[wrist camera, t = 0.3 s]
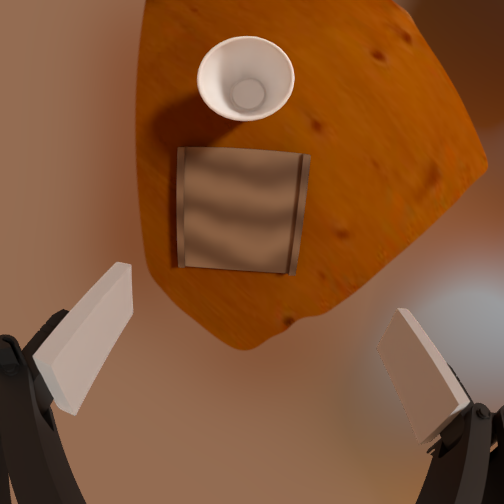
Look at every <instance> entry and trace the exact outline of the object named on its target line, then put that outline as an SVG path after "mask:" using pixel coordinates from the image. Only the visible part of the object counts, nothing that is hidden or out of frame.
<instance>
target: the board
mask: <svg viewBox="0 0 504 504" xmlns="http://www.w3.org/2000/svg"><path fill="white" fill-rule="evenodd" d="M310 157H311V155H308V154H300V153H291V152H281V151H270V150H258V149H243V148H222V147H178V150H177V253H178V267H181V268H184V267H185V266H190V267H203V268H216V269H230V270H244V271H258V272H273V273H288V274H289V275H293V276H295V275H296V268H297V261H298V255H299V248H300V241H301V234H302V226H303V218H304V211H305V202H306V194H307V185H308V176H309V167H310Z"/></svg>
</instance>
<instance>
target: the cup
mask: <svg viewBox="0 0 504 504" xmlns="http://www.w3.org/2000/svg"><path fill="white" fill-rule="evenodd" d="M197 86H198V90H199V93H200V95H201V97H202V99H203V101H204V102H205V103H206V104H207V106H208V107H209V108H210V109H212V110H213V111H214V112H215V113H217V114H219V115H221V116H223V117H225V118H228V119H231V120H236V121H254V120H258V119H262V118H265V117H267V116H269V115H272V114H273V113H275V112H276V111H277V110H279V109H280V108H281V107H282V106H283V105H284V104H285V103H286V101H287V100H288V98H289V97H290V95H291V92H292V90H293V86H294V70H293V67H292V64H291V62H290V60H289V58H288V56H287V55H286V54H285V53H284V52H283V51H282V49H281V48H279V47H278V46H276V45H275V44H274V43H272V42H270V41H267V40H265V39H262V38H258V37H251V36H242V37H235V38H231V39H228V40H225V41H223V42H221V43H219V44H218V45H216V46H215V47H213V48H212V49H211V50H210V51H209V52H208V53H207V54H206V55H205V57H204V58H203V60H202V61H201V64H200V66H199V69H198V74H197Z"/></svg>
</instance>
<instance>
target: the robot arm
mask: <svg viewBox="0 0 504 504" xmlns="http://www.w3.org/2000/svg"><path fill="white" fill-rule="evenodd" d="M132 314H133V302H132V277H131V265H130V264H126V263H121V262H116V263H115V264H114V265H113V266H112V267H111V268H110V269H109V270H108V271H107V272H106V273H105V274H104V275H103V276H102V277H101V278H100V279H99V280H98V282H96V284H95V285H94V286H93V287H92V288H91V289H90V290H89V291H88V292H87V293H86V294H85V295H84V296H83V297H82V298H81V300H80V301H79V302H78V303H77V304H76V305H75V306H74V307H73V308H72V309H71V311H67V310H64V309H63V310H61V311H59V312H57V313H55V314H54V315H52V316H51V318H50V319H49V320H48V321H47V322H46V324H44V325H43V326H42V328H41V329H40V331H38V332H37V333H36V334H35V335H34V337H33V338H32V339H31V340H30V341H29V342H28V344H27V345H26V346H25V347H24V348H23V350H22V351H21V348H20V346H19V344H18V341H17V340H16V339H15V338H14V337H13V336H10V335H0V504H11V496H10V487H9V477H10V480H11V484H12V487H13V490H14V493H15V496H16V499H17V502H18V504H86V502H85V500H84V498H83V496H82V494H81V492H80V489H79V487H78V485H77V483H76V481H75V478H74V476H73V474H72V471H71V468H70V466H69V463H68V461H67V458H66V455H65V453H64V450H63V447H62V444H61V441H60V438H59V434H58V431H57V427H56V424H55V420H54V416H53V412H52V409H51V407H50V404H51V403H52V401H53V399H54V401H55V403H56V404H57V406H58V408H59V409H61V410H64V411H66V412H68V413H70V414H72V415H75V416H76V414H77V412H78V410H79V408H80V406H81V404H82V402H83V400H84V398H85V396H86V394H87V392H88V391H89V389H90V387H91V385H92V383H93V381H94V379H95V378H96V376H97V374H98V372H99V370H100V368H101V367H102V365H103V363H104V361H105V359H106V358H107V356H108V354H109V353H110V351H111V349H112V347H113V346H114V344H115V342H116V340H117V339H118V337H119V336H120V334H121V332H122V331H123V329H124V327H125V326H126V324H127V322H128V321H129V319H130V318H131V316H132ZM376 349H377V351H378V353H379V355H380V357H381V359H382V361H383V363H384V365H385V367H386V370H387V372H388V374H389V376H390V378H391V380H392V382H393V385H394V387H395V389H396V391H397V394H398V396H399V398H400V400H401V403H402V405H403V407H404V410H405V412H406V415H407V417H408V419H409V422H410V424H411V426H412V429H413V432H414V434H415V437H416V439H417V442H418V444H419V445H420V444H424V443H428V442H431V441H432V440H433V439H434V438H435V437H436V436H437V435H438V434H440V436H441V439H440V440H438V441H437V442H436V443H435V444H434V445H433V446H432V447H430V448H429V449H428V451H427V453H429V452H430V451H431V450H433V449H435V451H434V452H432V453H431V455H432V456H433V458H432V461H431V464H430V467H429V470H428V473H427V476H426V479H425V481H424V484H423V487H422V489H421V492H420V494H419V497H418V499H417V502H416V504H504V406H502V407H501V408H500V409H499V410H498V411H497V413H491V412H490V410H489V409H488V408H487V407H486V406H485V405H484V404H481V403H476V404H474V403H473V401H472V400H471V398H470V396H469V395H468V393H467V391H466V390H465V388H464V386H463V385H462V383H461V382H460V380H459V378H458V377H457V376H456V374H455V372H454V371H453V369H452V368H451V367H450V366H449V365H448V364H447V363H446V362H445V360H444V359H443V357H442V356H441V354H440V353H439V351H438V350H437V349H436V347H435V346H434V344H433V343H432V341H431V340H430V338H429V337H428V336H427V334H426V333H425V331H424V330H423V329H422V327H421V326H420V325H419V323H418V322H417V320H416V319H415V318H414V316H413V315H412V314H411V313H410V311H409V310H408V309H403V308H397V309H396V311H395V313H394V315H393V317H392V319H391V321H390V323H389V325H388V327H387V329H386V331H385V333H384V335H383V337H382V338H381V340H380V342H379V344H378V346H377V348H376ZM496 442H498V446H497V447H496V448H495V449H494V450H493V451H492V452H490V447H491V446H492V445H493V444H495V443H496ZM8 473H9V474H8Z"/></svg>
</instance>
